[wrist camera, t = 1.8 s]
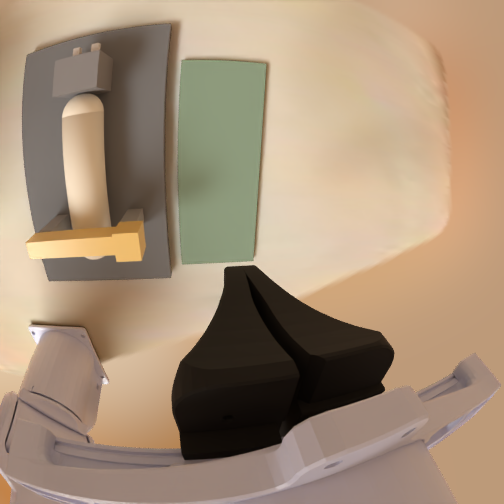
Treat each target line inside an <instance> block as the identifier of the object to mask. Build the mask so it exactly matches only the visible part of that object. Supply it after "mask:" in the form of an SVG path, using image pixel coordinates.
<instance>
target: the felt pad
mask: <svg viewBox="0 0 504 504" xmlns="http://www.w3.org/2000/svg"><path fill="white" fill-rule="evenodd" d="M265 78H266V64H264V63H254V62H242V61H225V60H182V63H181V77H180V94H179V119H178V196H179V223H180V242H181V257H182V264H202V263H223V262H243V261H253V258H254V243H255V228H256V213H257V199H258V184H259V169H260V154H261V139H262V124H263V108H264V93H265Z"/></svg>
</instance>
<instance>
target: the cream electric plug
mask: <svg viewBox="0 0 504 504" xmlns="http://www.w3.org/2000/svg"><path fill="white" fill-rule="evenodd" d="M100 47H101V44H100V43H95V44H92V46H91V52H87V53H83V54H82V48H81V47H78V48H74V49H73V56H71V57H67V58H64V59H60V60H57V61H55V67H54V78H53V93H52V97H59V98H70V99H71V100H70V101H69V102H68V103H67V104H66V106H65V108H64V110H63V114H62V143H63V160H64V172H65V182H66V190H67V198H68V205H69V211H70V217H71V223H72V228H73V230H75V229H88V228H102V227H111V220H110V212H109V204H108V195H107V184H106V171H105V154H104V107H103V104H102V102H101V100H100V99H99V98H98V97H97V96H95V95H93V94H98V93H104V92H110V91H111V86H112V71H113V60H114V59H112V58H111V57H110V56H108V55H107V54H105V53H104V52H102V51H101V50H100ZM102 257H104V256H87V257H86V258H88V259H92V260H96V259H100V258H102Z"/></svg>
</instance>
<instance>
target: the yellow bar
mask: <svg viewBox="0 0 504 504" xmlns="http://www.w3.org/2000/svg"><path fill="white" fill-rule="evenodd" d="M26 246H27V250H28V254H29V257H30V259H45V258H66V257H87V256H109V255H115V256H116V261H117V262H128V261H142V258H143V255H144V252H145V248H146V242H145V234H144V224H143V221H126V222H119V223H118V225H117V226H116V227H102V228H88V229H75V230H63V231H51V232H40V233H35V234H34V235H33V236H32V237H31V238H30V239H29V240H28V241H27V242H26Z"/></svg>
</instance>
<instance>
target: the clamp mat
mask: <svg viewBox="0 0 504 504" xmlns="http://www.w3.org/2000/svg"><path fill="white" fill-rule="evenodd" d="M170 36H171V24H158V25H147V26H139V27H131V28H124V29H118V30H112V31H107V32H102V33H97V34H93V35H89V36H84V37H81V38H77V39H73V40H69V41H66V42H63V43H59V44H56V45H53V46H50V47H47V48H44V49H42V50H39V51H36V52H34V53H31V54H28V55H27V57H26V65H25V73H24V84H23V101H22V139H23V156H24V168H25V177H26V185H27V192H28V198H29V204H30V210H31V215H32V220H33V225H34V229H35V233H40V232H51V231H63V230H73V228H72V223H71V217H70V211H69V205H68V198H67V190H66V182H65V172H64V160H63V143H62V114H63V110H64V108H65V106H66V104H67V103H68V102H69V101H70V100H71V99H70V98H59V97H52V93H53V78H54V67H55V61H57V60H60V59H64V58H67V57H71V56H73V49H74V48H78V47H81V48H82V54H83V53H87V52H91V46H92V44H95V43H100V44H101V47H100V50H101V51H102V52H104V53H105V54H107V55H108V56H110V57H111V58H112V59H114V60H113V71H112V86H111V91H110V92H104V93H98V94H93V95H95V96H97V97H98V98H99V99H100V100H101V102H102V104H103V107H104V154H105V171H106V184H107V195H108V204H109V212H110V220H111V227H116V226H117V225H118V223H119V222H126V221H143V224H144V234H145V242H146V248H145V252H144V255H143V258H142V261H128V262H117V261H116V256H115V255H109V256H104V257H102V258H100V259H96V260H92V259H88V258H86V257H66V258H45V259H42V260H43V264H44V267H45V270H46V274H47V277H48V280H49V281H88V280H125V279H153V278H171V264H170V253H169V241H168V227H167V211H166V189H165V104H166V83H167V68H168V56H169V45H170Z"/></svg>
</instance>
